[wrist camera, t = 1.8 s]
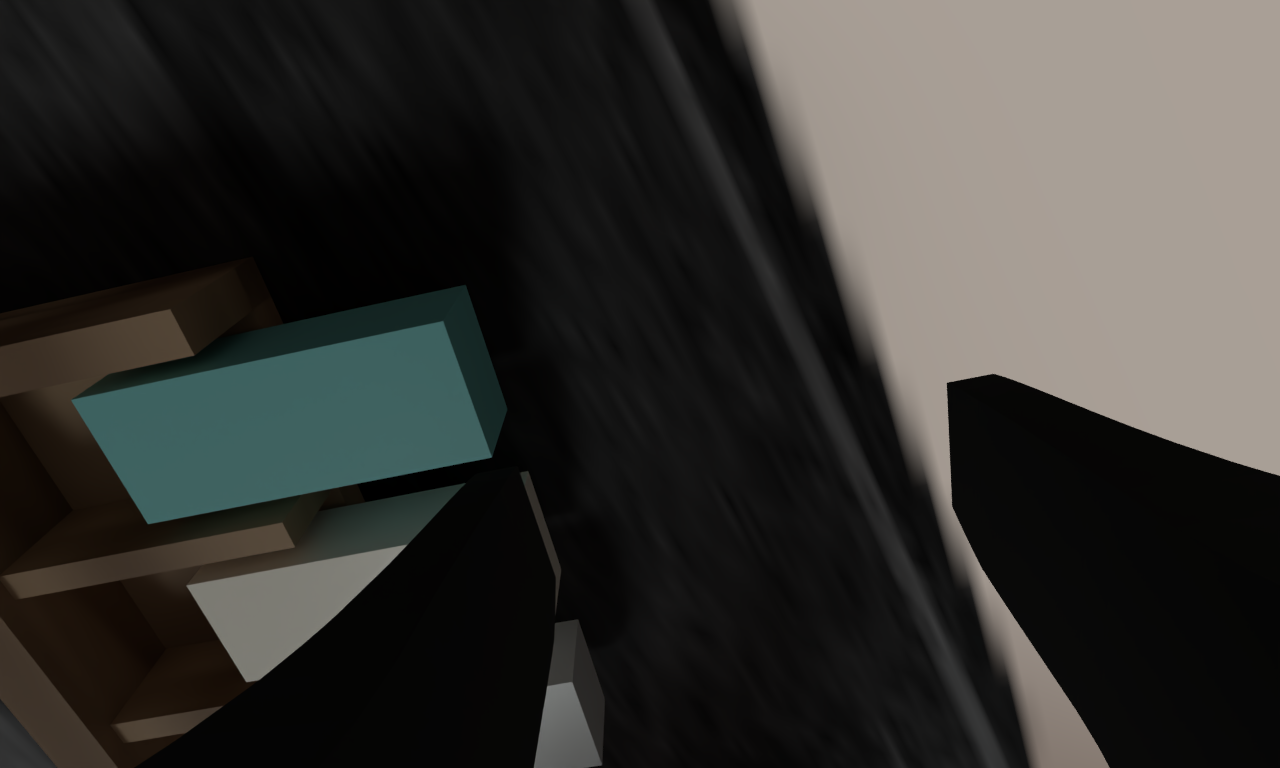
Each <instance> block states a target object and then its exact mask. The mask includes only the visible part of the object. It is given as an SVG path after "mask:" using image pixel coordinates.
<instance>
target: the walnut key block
mask: <svg viewBox="0 0 1280 768" xmlns="http://www.w3.org/2000/svg"><path fill="white" fill-rule="evenodd" d="M282 324H283V322H282V319H281V317H280V315H279V313H278V311H277V308H276V306H275V304H274V302H273V300H272V298H271V295H270V293H269V291H268V289H267V287H266V284H265V282H264V280H263V278H262V276H261V274H260V271H259V269H258V267H257V265H256V263H255V260H254V258H253V257H248V258H244V259H239V260H235V261H231V262H226V263H222V264H217V265H213V266H208V267H204V268H199V269H195V270H191V271H186V272H182V273H177V274H173V275H168V276H164V277H160V278H155V279H151V280H146V281H142V282H137V283H133V284H128V285H124V286H120V287H115V288H111V289H106V290H102V291H97V292H93V293H89V294H84V295H80V296H75V297H71V298H66V299H62V300H57V301H53V302H49V303H44V304H40V305H35V306H31V307H26V308H22V309H18V310H13V311H9V312H4V313H0V699H1V700H2V701H3V702H4V704H5V705H6V706H7V707H8V708H9V710H10V711H11V712H12V713H13V714H14V716H15V717H16V718H17V719H18V720H19V722H20V723H21V724H22V725H23V726H24V728H25V729H26V730H27V731H28V732H29V734H30V735H31V736H32V737H33V739H34V740H35V741H36V742H37V743H38V745H39V746H40V747H41V748H42V749H43V751H44V752H45V753H46V754H47V755H48V757H49V758H50V759H51V760H52V761H53V763H54V764H55V765H56V766H57V767H58V768H134V767H136V766H137V765H139V764H140V763H142V762H143V761H145V760H147V759H148V758H150V757H151V756H153V755H154V754H156V753H157V752H159V751H160V750H162V749H163V748H165V747H166V746H168V745H169V744H171V743H172V742H174V741H175V740H177V739H178V738H180V737H181V736H182V735H184V734H185V733H187V732H188V731H189V730H191V729H192V728H194V727H195V726H196V725H198V724H199V723H200V722H202V721H203V720H205V719H206V718H207V717H209V716H210V715H212V714H213V713H214V712H216V711H217V710H218V709H220V708H221V707H223V706H224V705H225V704H227V703H228V702H230V701H231V700H232V699H234V698H235V697H236V696H238V695H239V694H241V693H242V692H243V691H245V690H246V689H248V688H249V687H250V686H252V685H253V684H254V683H256V682H257V681H258V680H257V681H251V682H246V681H245V679H244V678H243V676H242V674H241V673H240V671H239V669H238V668H237V666H236V665H235V663H234V661H233V660H232V658H231V657H230V655H229V653H228V652H227V650H226V649H225V647H224V645H223V644H222V642H221V641H220V639H219V637H218V636H217V634H216V633H215V631H214V629H213V628H212V626H211V624H210V623H209V621H208V620H207V618H206V616H205V615H204V613H203V612H202V610H201V608H200V607H199V605H198V604H197V602H196V600H195V599H194V597H193V596H192V594H191V592H190V591H189V589H188V588H187V586H186V585H187V584H188V583H189V582H190V580H191V579H192V578H193V576H194V575H195V574H196V573H197V571H198V570H199V569H200V568H201V566H202V565H204V564H209V563H214V562H220V561H225V560H230V559H236V558H241V557H246V556H252V555H257V554H262V553H268V552H273V551H278V550H284V549H289V548H294V547H296V545H297V544H298V542H299V541H300V539H301V537H302V536H303V534H304V533H305V531H306V529H307V528H308V526H309V525H310V523H311V522H312V520H313V518H314V517H315V515H316V514H317V512H318V511H323V510H328V509H333V508H338V507H344V506H349V505H354V504H359V503H364V502H365V500H364V498H363V496H362V494H361V492H360V489H359V487H358V485H357V484H353V485H348V486H343V487H338V488H332V489H327V490H322V491H317V492H312V493H307V494H301V495H296V496H291V497H286V498H281V499H276V500H271V501H265V502H260V503H255V504H250V505H245V506H240V507H235V508H229V509H224V510H219V511H214V512H209V513H204V514H199V515H193V516H188V517H183V518H178V519H173V520H168V521H162V522H157V523H152V524H148V523H147V522H146V520H145V518H144V517H143V515H142V514H141V512H140V510H139V509H138V507H137V506H136V504H135V502H134V501H133V499H132V498H131V496H130V494H129V493H128V491H127V489H126V488H125V486H124V485H123V483H122V481H121V480H120V478H119V477H118V475H117V473H116V472H115V470H114V469H113V467H112V465H111V464H110V462H109V461H108V459H107V457H106V456H105V454H104V452H103V451H102V449H101V448H100V446H99V444H98V443H97V441H96V440H95V438H94V436H93V435H92V433H91V432H90V430H89V428H88V427H87V425H86V424H85V422H84V420H83V419H82V417H81V416H80V414H79V412H78V411H77V409H76V407H75V406H74V404H73V403H72V401H71V400H72V399H73V398H75V397H76V396H77V395H79V394H80V393H82V392H83V391H85V390H86V389H88V388H89V387H91V386H92V385H93V384H95V383H96V382H98V381H99V380H101V379H102V378H104V377H105V376H107V375H108V374H111V373H115V372H120V371H125V370H129V369H134V368H139V367H143V366H148V365H153V364H157V363H162V362H167V361H171V360H176V359H181V358H185V357H190V356H195V355H196V354H197V353H198V352H200V351H201V350H202V349H204V348H205V347H206V346H207V345H209V344H210V343H211V342H213V341H214V340H215V339H217V338H221V337H226V336H231V335H235V334H240V333H245V332H249V331H254V330H258V329H263V328H268V327H272V326H277V325H282Z"/></svg>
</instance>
